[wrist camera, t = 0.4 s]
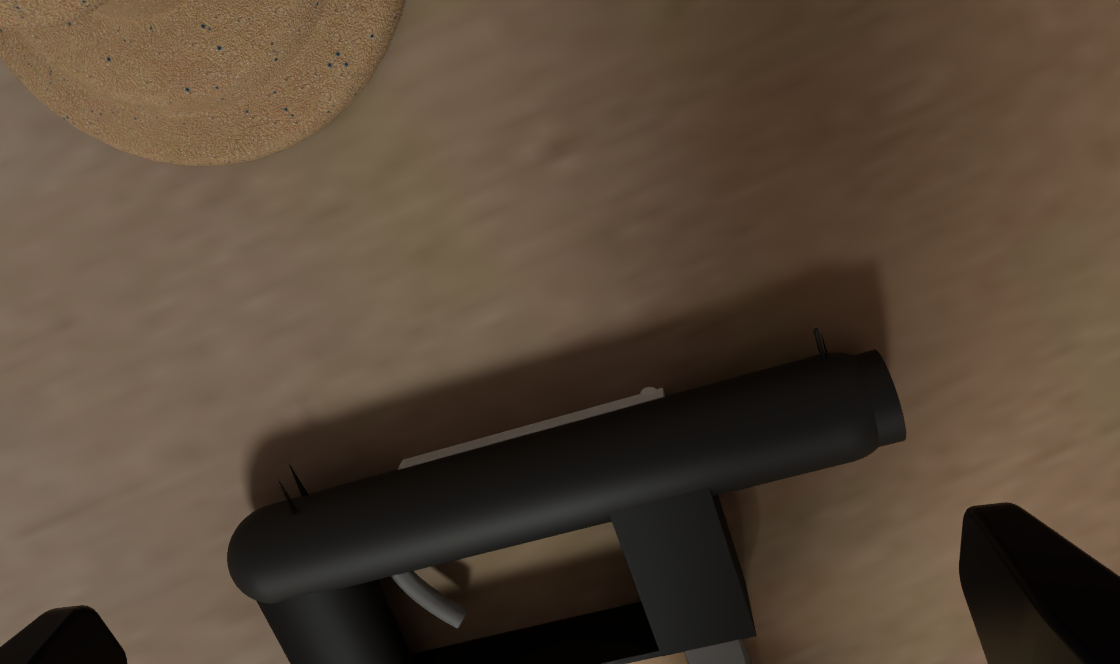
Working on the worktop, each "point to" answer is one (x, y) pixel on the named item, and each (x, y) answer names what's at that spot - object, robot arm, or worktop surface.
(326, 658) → the door handle
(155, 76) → the candle holder
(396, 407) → the worktop surface
